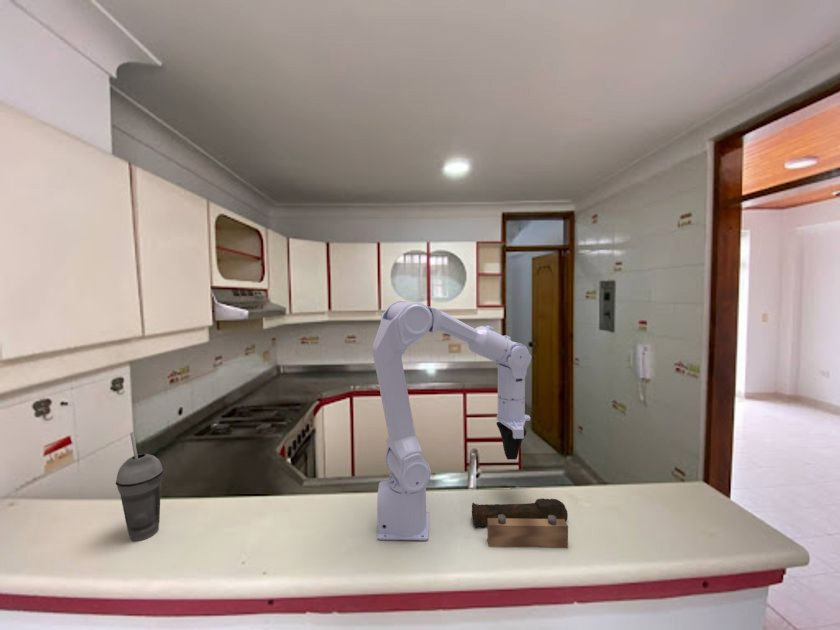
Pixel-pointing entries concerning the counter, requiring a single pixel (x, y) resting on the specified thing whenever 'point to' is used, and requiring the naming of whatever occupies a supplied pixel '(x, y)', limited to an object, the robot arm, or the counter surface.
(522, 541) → the stop rail
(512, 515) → the hand tool
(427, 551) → the counter surface
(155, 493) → the beverage cup
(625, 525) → the counter surface
